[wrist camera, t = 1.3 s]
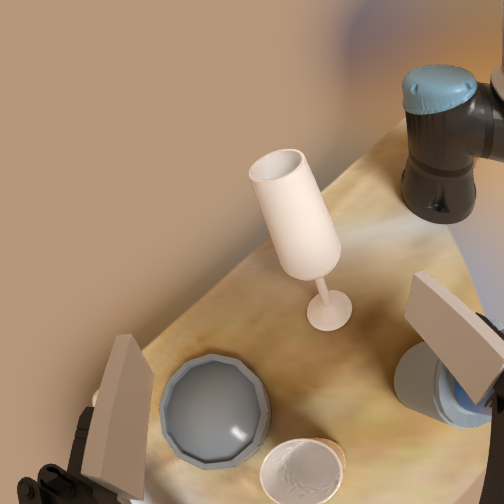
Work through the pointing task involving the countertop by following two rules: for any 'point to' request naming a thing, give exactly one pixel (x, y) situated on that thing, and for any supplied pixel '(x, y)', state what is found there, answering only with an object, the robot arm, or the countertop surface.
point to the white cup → (303, 471)
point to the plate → (215, 412)
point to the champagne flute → (301, 230)
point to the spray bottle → (438, 389)
